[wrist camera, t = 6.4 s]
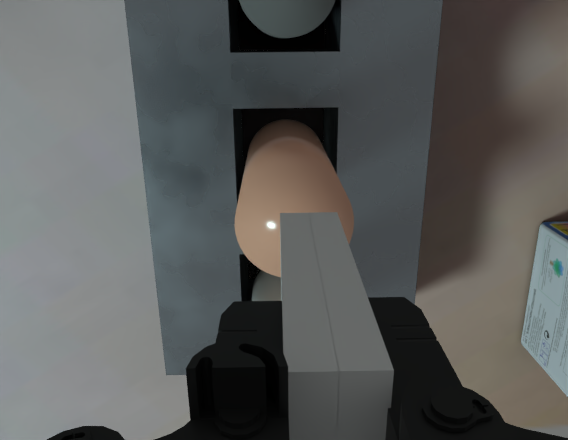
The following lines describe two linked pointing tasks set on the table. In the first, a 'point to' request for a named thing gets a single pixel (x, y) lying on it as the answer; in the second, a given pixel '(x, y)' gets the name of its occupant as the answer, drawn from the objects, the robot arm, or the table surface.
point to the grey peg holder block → (229, 143)
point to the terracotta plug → (285, 189)
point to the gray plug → (286, 15)
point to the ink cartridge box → (549, 303)
